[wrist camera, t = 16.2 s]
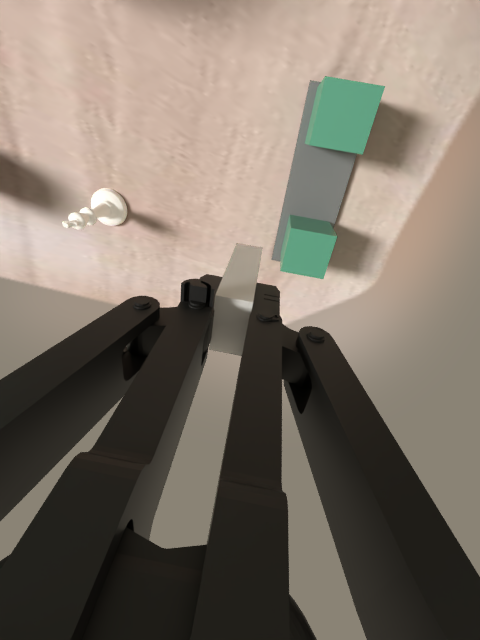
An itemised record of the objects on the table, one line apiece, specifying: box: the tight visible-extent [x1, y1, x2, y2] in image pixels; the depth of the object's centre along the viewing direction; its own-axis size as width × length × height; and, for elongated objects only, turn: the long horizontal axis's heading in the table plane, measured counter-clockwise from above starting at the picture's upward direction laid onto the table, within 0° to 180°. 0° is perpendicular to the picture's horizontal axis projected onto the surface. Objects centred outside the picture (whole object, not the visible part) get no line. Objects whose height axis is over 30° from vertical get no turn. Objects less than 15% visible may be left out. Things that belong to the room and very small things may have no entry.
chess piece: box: [62, 188, 127, 230], centre depth 37 cm, size 5×5×10 cm
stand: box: [272, 76, 385, 261], centre depth 34 cm, size 7×20×7 cm, turn 172°
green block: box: [280, 215, 337, 279], centre depth 37 cm, size 5×5×7 cm
